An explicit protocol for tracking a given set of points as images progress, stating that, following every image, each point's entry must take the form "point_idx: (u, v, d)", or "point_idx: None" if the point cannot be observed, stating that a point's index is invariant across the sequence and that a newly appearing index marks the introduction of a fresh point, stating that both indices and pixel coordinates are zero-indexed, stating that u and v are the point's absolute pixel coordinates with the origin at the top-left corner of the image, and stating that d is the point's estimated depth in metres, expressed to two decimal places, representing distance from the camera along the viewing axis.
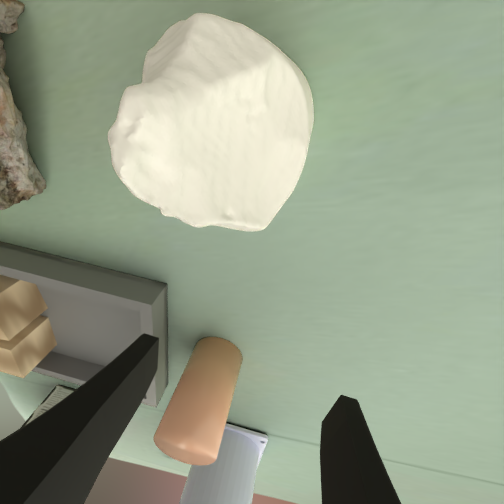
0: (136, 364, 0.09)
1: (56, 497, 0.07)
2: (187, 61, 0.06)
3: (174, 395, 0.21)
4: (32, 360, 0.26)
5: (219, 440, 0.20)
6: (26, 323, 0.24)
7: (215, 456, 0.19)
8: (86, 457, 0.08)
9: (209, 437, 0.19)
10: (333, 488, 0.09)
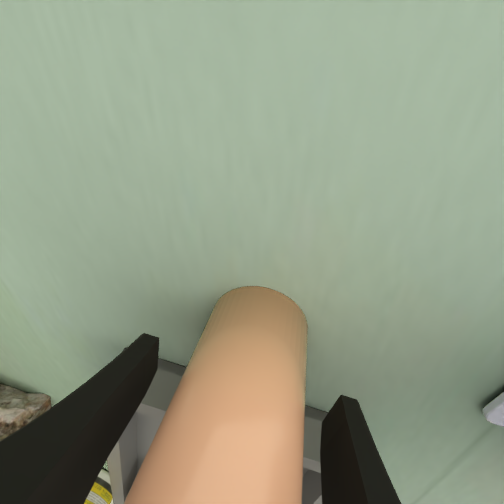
0: (137, 364, 0.09)
1: (56, 497, 0.07)
2: None
3: None
4: None
5: (196, 482, 0.06)
6: None
7: None
8: (86, 457, 0.08)
9: (140, 503, 0.06)
10: (333, 488, 0.09)
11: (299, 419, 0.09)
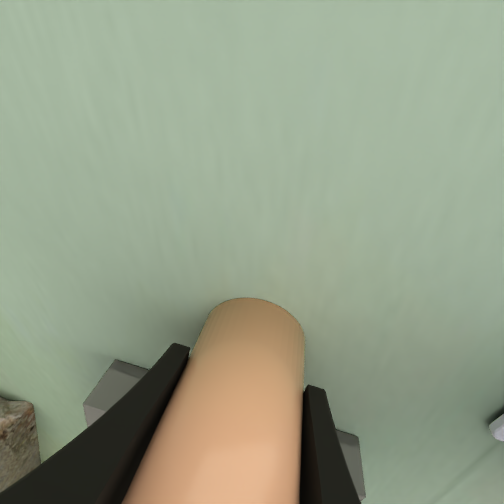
0: (172, 375, 0.09)
1: None
2: None
3: None
4: None
5: None
6: None
7: None
8: (128, 471, 0.08)
9: None
10: None
11: (296, 446, 0.08)
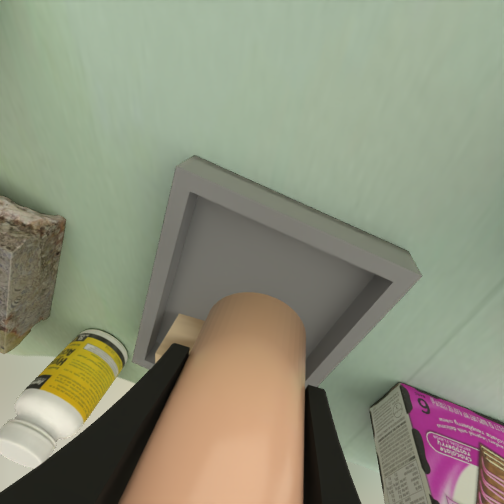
0: (172, 375, 0.09)
1: None
2: None
3: None
4: None
5: None
6: None
7: None
8: (128, 471, 0.08)
9: None
10: None
11: (299, 434, 0.08)
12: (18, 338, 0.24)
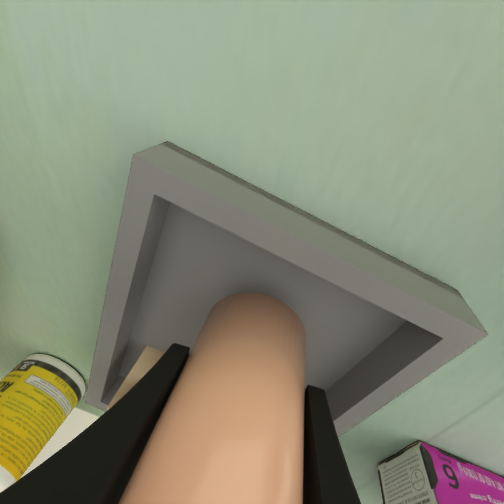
0: (172, 375, 0.09)
1: None
2: None
3: None
4: None
5: None
6: None
7: None
8: (128, 471, 0.08)
9: None
10: None
11: (299, 435, 0.08)
12: None
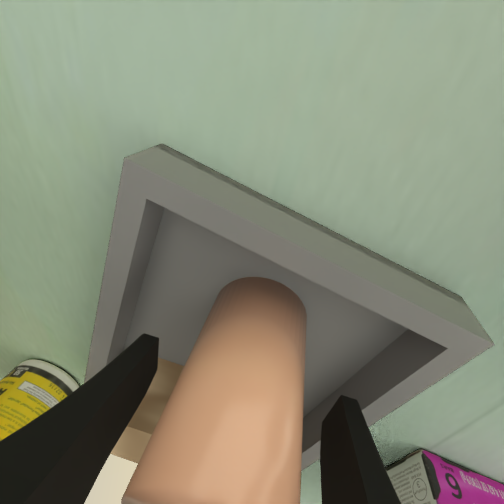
0: (137, 364, 0.09)
1: (56, 497, 0.07)
2: None
3: None
4: None
5: (202, 451, 0.07)
6: None
7: (212, 500, 0.06)
8: (86, 457, 0.08)
9: (150, 470, 0.07)
10: (333, 488, 0.09)
11: (299, 399, 0.09)
12: None
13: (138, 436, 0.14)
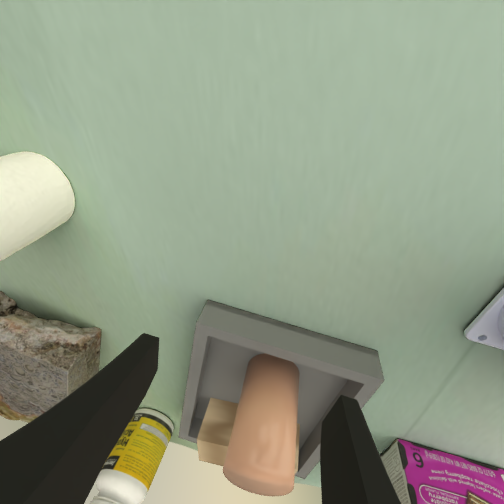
0: (136, 364, 0.09)
1: (56, 497, 0.07)
2: None
3: None
4: None
5: (249, 446, 0.18)
6: None
7: (255, 462, 0.17)
8: (86, 457, 0.08)
9: (232, 455, 0.18)
10: (333, 488, 0.09)
11: (291, 419, 0.20)
12: None
13: (218, 448, 0.25)
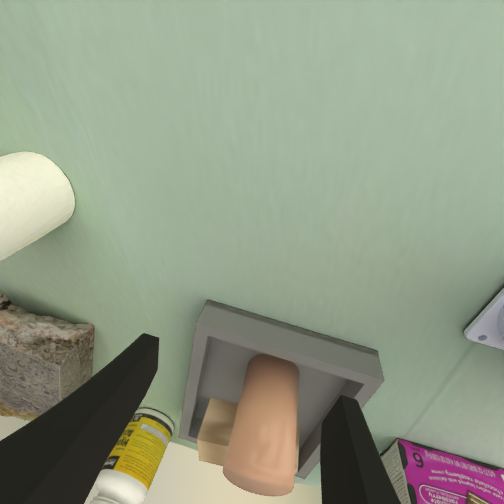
0: (136, 364, 0.09)
1: (56, 497, 0.07)
2: None
3: None
4: None
5: (249, 446, 0.18)
6: None
7: (255, 462, 0.17)
8: (86, 457, 0.08)
9: (232, 455, 0.18)
10: (333, 488, 0.09)
11: (291, 419, 0.20)
12: None
13: (218, 448, 0.25)
